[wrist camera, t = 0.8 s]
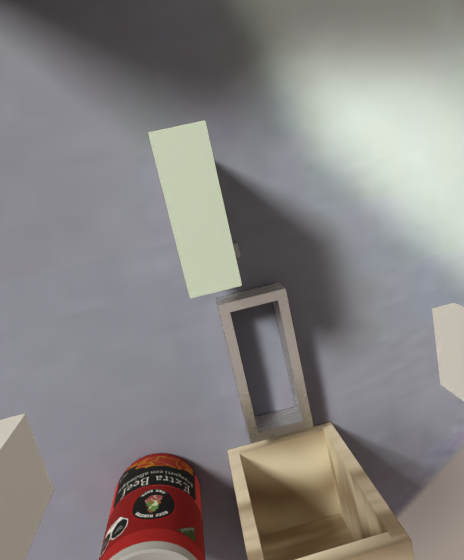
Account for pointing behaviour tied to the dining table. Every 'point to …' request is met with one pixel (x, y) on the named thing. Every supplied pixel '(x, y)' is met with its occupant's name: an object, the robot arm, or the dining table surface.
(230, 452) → the open wooden box
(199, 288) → the pale green rectangular block
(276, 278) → the dining table surface
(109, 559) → the canned food
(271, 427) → the grey rectangular frame
